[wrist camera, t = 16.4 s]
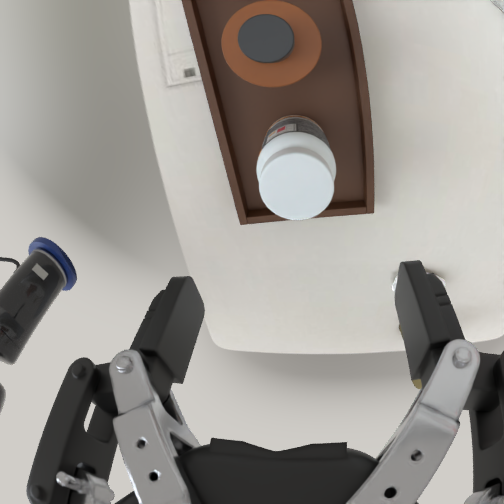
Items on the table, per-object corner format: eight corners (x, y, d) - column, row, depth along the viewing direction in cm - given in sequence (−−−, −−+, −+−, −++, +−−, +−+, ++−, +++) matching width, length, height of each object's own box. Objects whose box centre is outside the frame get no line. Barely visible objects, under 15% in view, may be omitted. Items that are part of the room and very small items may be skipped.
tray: (243, 215, 31) (240, 225, 29) (176, -45, 14) (168, -51, 12) (370, 203, 28) (374, 213, 26) (323, -72, 11) (325, -81, 9)
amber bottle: (253, 83, 22) (220, 102, 12) (240, 27, 19) (194, 3, 9) (317, 75, 21) (336, 85, 11) (305, 17, 17) (313, -20, 8)
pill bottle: (253, 132, 25) (230, 172, 17) (307, 102, 22) (314, 126, 15) (285, 181, 27) (279, 240, 20) (337, 155, 25) (356, 205, 17)
